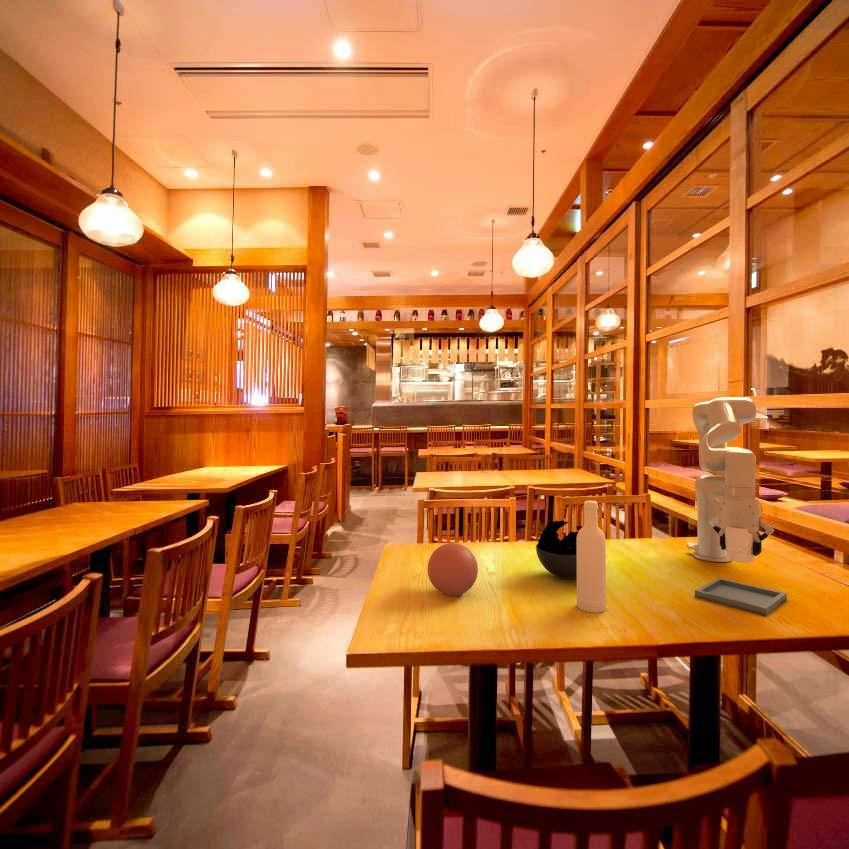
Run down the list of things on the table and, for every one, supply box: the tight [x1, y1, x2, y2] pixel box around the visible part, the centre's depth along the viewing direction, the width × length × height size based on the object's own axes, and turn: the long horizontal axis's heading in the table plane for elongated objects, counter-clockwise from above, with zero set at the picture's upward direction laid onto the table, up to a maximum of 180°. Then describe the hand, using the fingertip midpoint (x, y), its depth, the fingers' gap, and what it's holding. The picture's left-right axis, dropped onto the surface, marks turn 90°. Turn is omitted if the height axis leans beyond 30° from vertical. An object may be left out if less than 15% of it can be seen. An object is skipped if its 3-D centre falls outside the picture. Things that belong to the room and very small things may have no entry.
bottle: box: [576, 500, 607, 614], centre depth 134 cm, size 8×8×30 cm
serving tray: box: [694, 577, 788, 617], centre depth 140 cm, size 18×18×2 cm
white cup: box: [725, 526, 755, 564], centre depth 140 cm, size 8×8×10 cm
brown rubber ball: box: [427, 542, 479, 596], centre depth 148 cm, size 15×20×15 cm
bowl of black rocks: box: [535, 520, 583, 580], centre depth 160 cm, size 20×20×19 cm
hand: (740, 551), depth 140 cm, fingers closed on white cup, 7 cm apart
